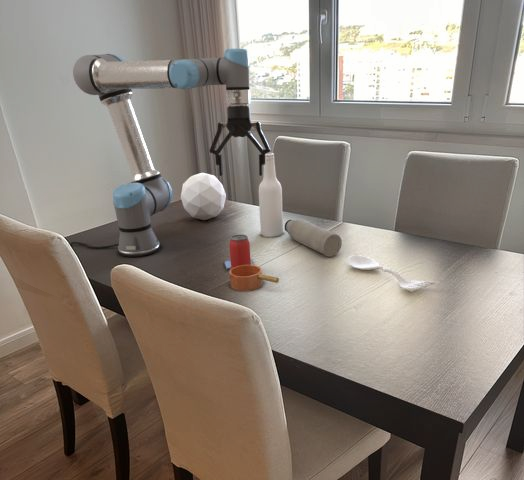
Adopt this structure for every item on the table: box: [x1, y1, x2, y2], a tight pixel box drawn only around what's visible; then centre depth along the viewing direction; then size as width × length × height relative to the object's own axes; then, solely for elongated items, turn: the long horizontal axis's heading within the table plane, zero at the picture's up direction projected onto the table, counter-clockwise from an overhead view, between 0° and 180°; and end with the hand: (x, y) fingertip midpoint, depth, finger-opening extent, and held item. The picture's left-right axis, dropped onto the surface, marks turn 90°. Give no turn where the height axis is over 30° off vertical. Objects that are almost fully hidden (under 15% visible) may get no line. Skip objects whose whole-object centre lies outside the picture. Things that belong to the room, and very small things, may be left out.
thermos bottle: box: [284, 218, 343, 258], centre depth 178 cm, size 8×8×28 cm
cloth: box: [224, 260, 253, 271], centre depth 166 cm, size 6×9×1 cm
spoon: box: [346, 254, 435, 292], centre depth 150 cm, size 9×32×4 cm, turn 30°
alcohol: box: [258, 152, 284, 238], centre depth 186 cm, size 9×9×30 cm
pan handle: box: [258, 273, 280, 284], centre depth 146 cm, size 7×2×2 cm, turn 56°
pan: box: [228, 264, 263, 292], centre depth 151 cm, size 10×10×4 cm
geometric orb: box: [180, 172, 227, 221], centre depth 212 cm, size 19×20×20 cm
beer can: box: [228, 234, 252, 269], centre depth 157 cm, size 7×7×12 cm
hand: (241, 175), depth 166 cm, fingers open, 13 cm apart
